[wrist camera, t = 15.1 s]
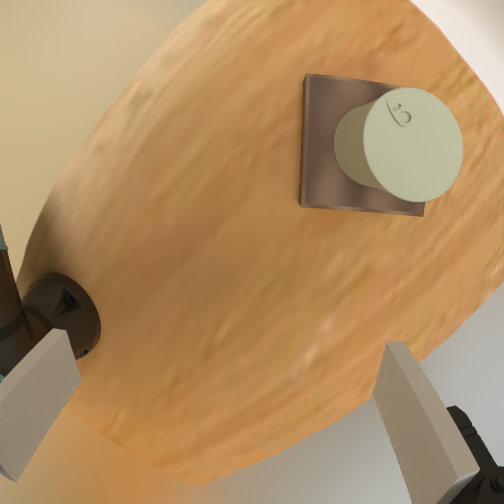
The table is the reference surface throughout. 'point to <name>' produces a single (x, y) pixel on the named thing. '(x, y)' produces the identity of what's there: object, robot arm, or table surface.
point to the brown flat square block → (323, 154)
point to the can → (401, 145)
